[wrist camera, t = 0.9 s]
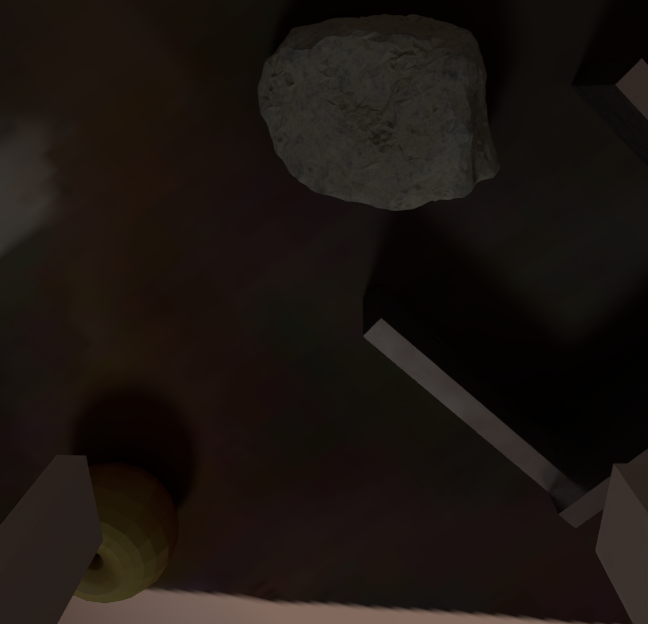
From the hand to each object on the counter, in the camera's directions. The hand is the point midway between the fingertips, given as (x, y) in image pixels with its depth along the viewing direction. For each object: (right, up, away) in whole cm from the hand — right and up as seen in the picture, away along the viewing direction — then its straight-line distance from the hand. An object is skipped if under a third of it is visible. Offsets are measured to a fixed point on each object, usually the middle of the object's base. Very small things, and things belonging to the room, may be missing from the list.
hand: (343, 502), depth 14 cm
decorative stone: (+3, +17, +19) cm, 26 cm away
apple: (-16, -10, +31) cm, 36 cm away
